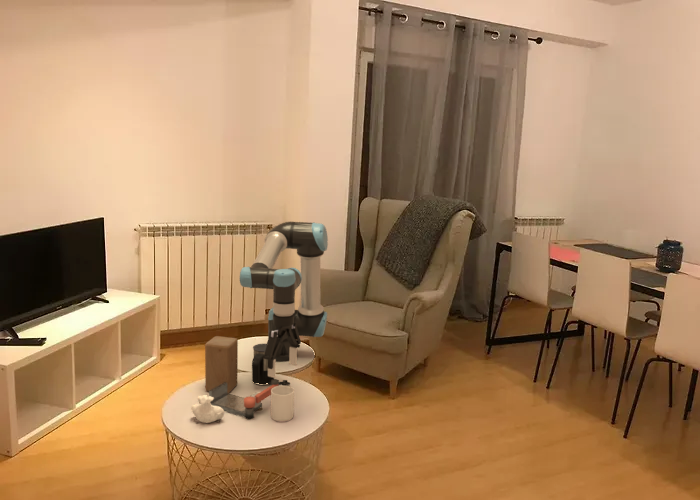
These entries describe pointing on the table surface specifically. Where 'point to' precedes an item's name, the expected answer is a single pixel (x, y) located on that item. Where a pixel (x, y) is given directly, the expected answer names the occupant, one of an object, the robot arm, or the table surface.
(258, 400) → the lever
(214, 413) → the bust
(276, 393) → the mug
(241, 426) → the table surface
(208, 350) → the wooden block
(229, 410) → the metal tray
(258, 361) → the milk frother
